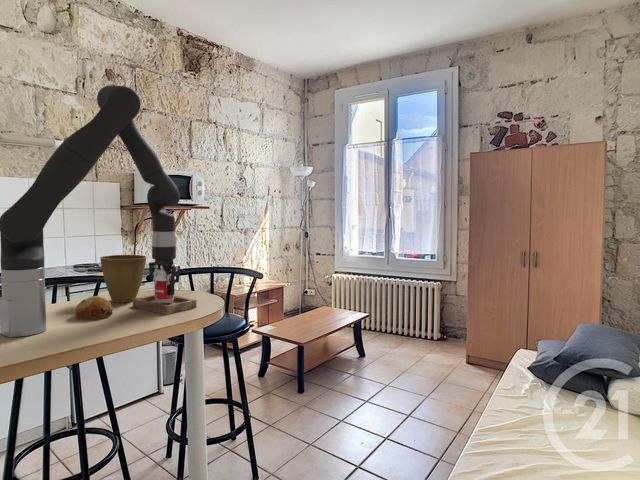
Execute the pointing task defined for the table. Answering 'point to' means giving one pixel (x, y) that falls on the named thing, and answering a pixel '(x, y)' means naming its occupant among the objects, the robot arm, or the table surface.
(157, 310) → the shallow rectangular tray
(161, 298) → the pill bottle
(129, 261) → the plant pot
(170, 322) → the table surface
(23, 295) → the robot arm
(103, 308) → the bread roll
